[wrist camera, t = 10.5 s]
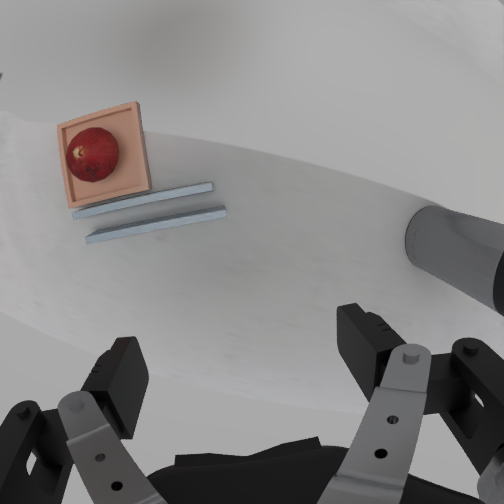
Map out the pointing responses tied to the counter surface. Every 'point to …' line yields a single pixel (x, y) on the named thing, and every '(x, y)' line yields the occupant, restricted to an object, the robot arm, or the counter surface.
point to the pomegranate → (92, 154)
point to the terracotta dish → (129, 161)
